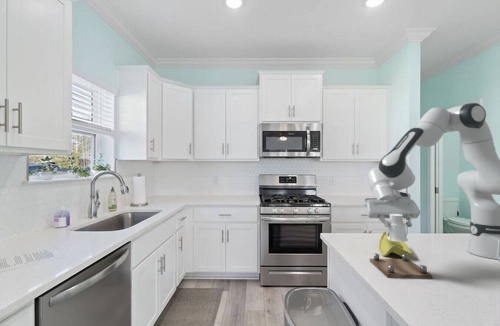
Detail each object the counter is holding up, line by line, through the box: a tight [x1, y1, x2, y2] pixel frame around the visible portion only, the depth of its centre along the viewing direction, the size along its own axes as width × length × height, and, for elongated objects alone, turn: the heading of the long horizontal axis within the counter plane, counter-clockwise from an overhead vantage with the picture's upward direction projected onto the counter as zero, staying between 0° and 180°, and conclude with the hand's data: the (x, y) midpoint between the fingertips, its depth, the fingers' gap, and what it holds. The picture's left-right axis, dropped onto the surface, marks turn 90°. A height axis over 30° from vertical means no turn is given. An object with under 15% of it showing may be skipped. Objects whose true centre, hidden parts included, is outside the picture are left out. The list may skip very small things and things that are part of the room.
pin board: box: [369, 252, 434, 279], centre depth 101 cm, size 16×16×4 cm
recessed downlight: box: [386, 214, 409, 243], centre depth 101 cm, size 8×7×10 cm
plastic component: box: [378, 231, 413, 260], centre depth 122 cm, size 20×7×10 cm
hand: (398, 226), depth 100 cm, fingers closed on recessed downlight, 7 cm apart
